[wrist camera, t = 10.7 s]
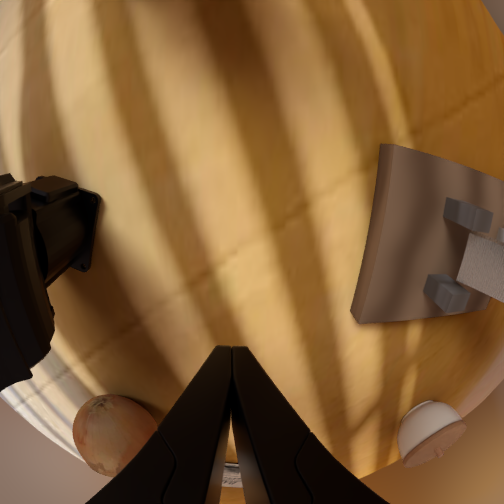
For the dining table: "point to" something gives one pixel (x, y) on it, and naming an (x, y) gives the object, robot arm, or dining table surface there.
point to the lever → (483, 265)
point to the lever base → (423, 237)
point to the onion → (111, 432)
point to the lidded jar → (428, 432)
